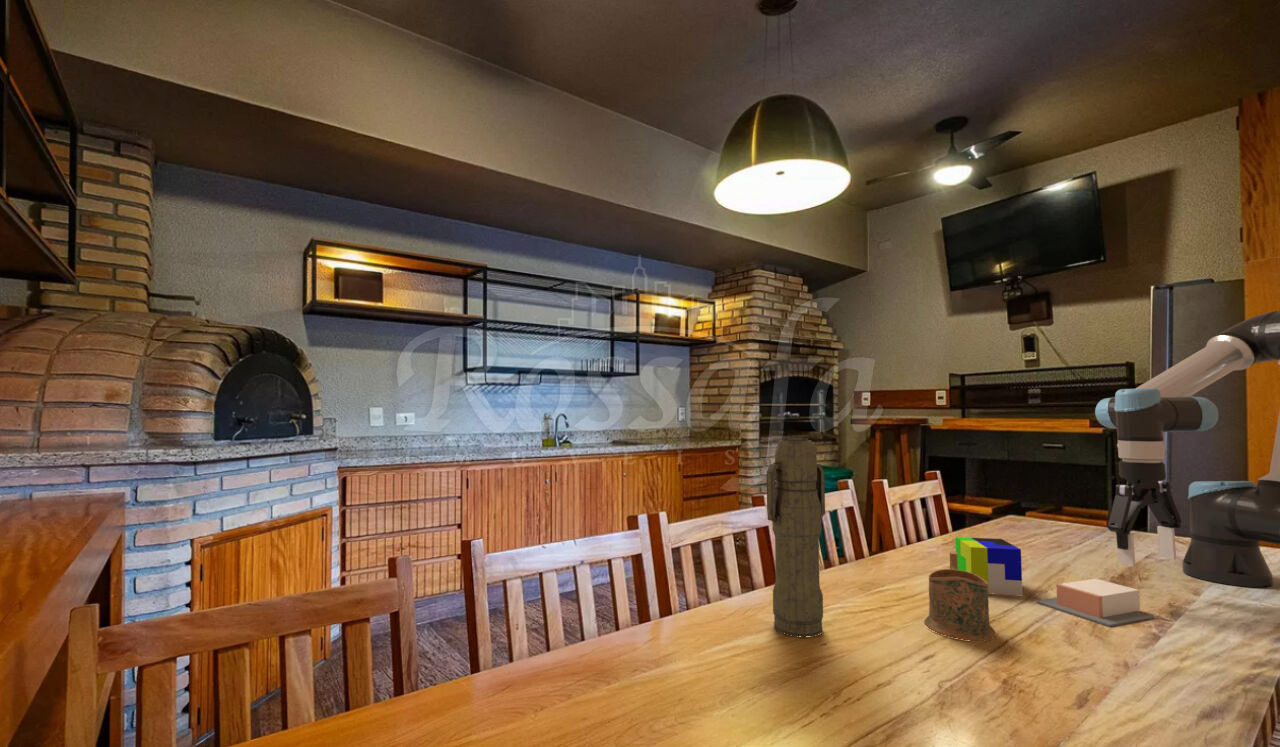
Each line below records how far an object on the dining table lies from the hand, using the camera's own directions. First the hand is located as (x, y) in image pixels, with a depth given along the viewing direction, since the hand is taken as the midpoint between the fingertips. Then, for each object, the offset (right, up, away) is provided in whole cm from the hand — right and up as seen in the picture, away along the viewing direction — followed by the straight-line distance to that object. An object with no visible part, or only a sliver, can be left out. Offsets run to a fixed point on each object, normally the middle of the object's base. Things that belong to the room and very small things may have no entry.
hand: (1147, 561), depth 122 cm
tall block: (-9, -6, -3) cm, 11 cm away
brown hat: (-47, -8, -13) cm, 50 cm away
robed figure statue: (-78, -8, -16) cm, 80 cm away
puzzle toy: (-29, -9, +9) cm, 31 cm away
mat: (-16, -8, -6) cm, 19 cm away
